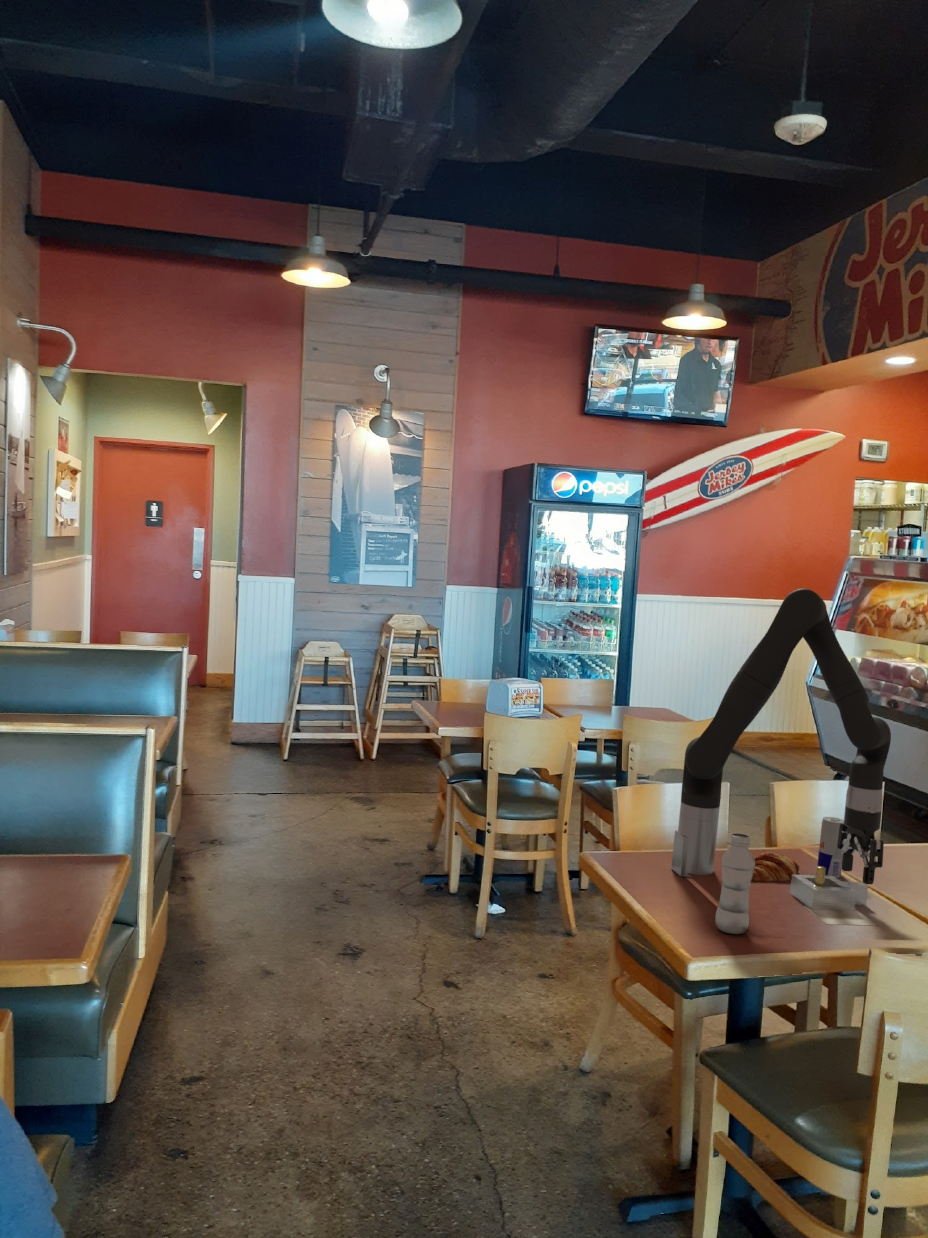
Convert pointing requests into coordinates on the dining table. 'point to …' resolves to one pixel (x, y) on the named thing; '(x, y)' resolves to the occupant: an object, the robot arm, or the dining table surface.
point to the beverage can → (830, 847)
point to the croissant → (774, 867)
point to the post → (820, 876)
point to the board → (842, 917)
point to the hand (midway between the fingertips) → (857, 877)
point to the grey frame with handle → (828, 893)
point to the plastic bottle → (735, 886)
